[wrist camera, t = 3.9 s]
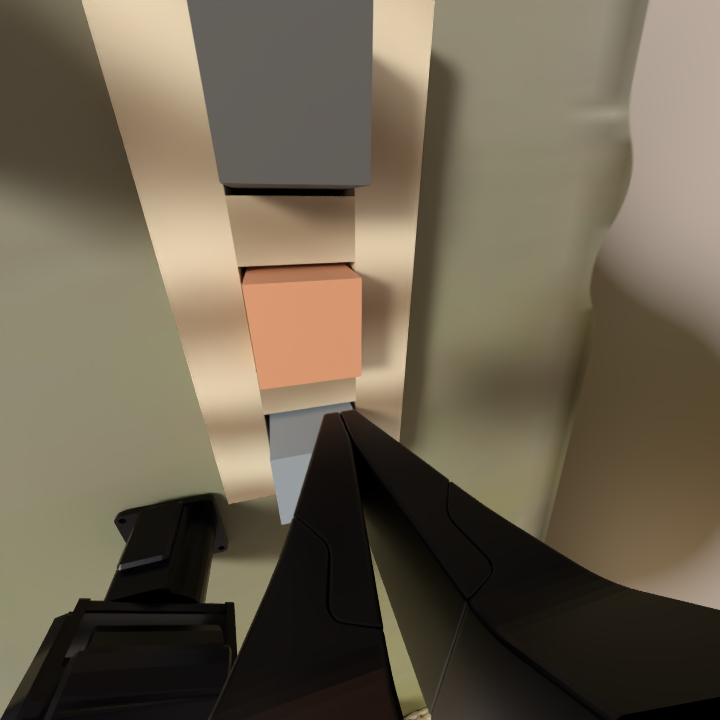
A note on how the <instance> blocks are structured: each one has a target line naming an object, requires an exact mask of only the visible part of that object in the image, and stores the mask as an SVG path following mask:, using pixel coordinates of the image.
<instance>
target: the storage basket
mask: <svg viewBox="0 0 720 720" xmlns="http://www.w3.org/2000/svg"><path fill="white" fill-rule="evenodd" d="M404 720H431V715H430V714H429V711H428V708H427V707H425V708H423V709H421V710H419V711H418V712H417V711H415V712H413V713H411V714H410V715H408V716H407V717H405V718H404Z"/></svg>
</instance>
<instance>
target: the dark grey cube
mask: <svg viewBox="0 0 720 720" xmlns="http://www.w3.org/2000/svg"><path fill="white" fill-rule="evenodd" d="M187 5H188V10H189V16H190V22H191V27H192V33H193V38H194V44H195V49H196V55H197V60H198V66H199V71H200V77H201V82H202V88H203V93H204V99H205V104H206V110H207V115H208V121H209V126H210V132H211V138H212V143H213V149H214V154H215V160H216V165H217V171H218V176H219V182H220V183H221V184H224V185H226V186H229V187H232V188H234V189H308V190H344V189H351V188H357V187H363V186H370V185H371V123H372V60H373V0H187Z"/></svg>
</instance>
